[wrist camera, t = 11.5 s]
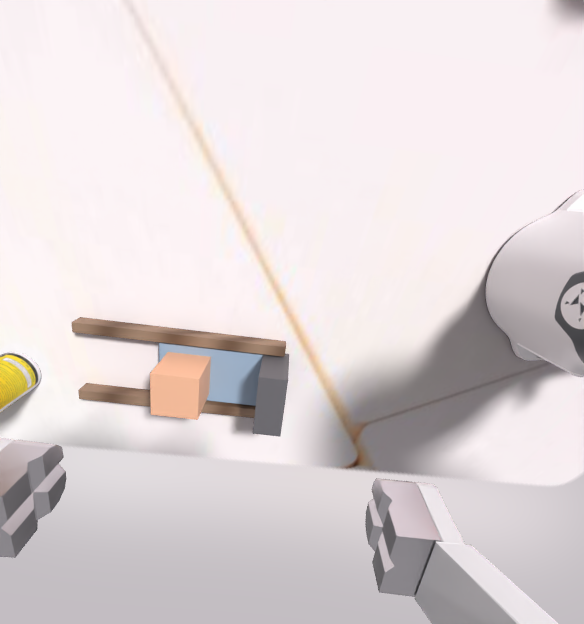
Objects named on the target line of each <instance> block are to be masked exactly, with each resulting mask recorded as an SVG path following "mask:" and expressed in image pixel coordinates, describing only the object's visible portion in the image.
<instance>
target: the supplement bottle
mask: <svg viewBox="0 0 584 624" xmlns="http://www.w3.org/2000/svg"><path fill="white" fill-rule="evenodd" d="M40 379H41V372H40V369H39V367H38V365H37V364H36V362H35V361H34V360H33V359H32V358H30V357H29V356H27V355H25V354H23V353H19V352H7V353H4V354H2V355H0V412H2V411H3V410H5V409H6V408H7V407H9V406H10V405H11V404H13V403H14V402H16V401H17V400H18V399H20V398H21V397H23V396H24V395H25V394H27V393H28V392H30V391H31V390H32V389H34V388H35V387H36V386H37V385H38V384H39V382H40Z"/></svg>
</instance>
